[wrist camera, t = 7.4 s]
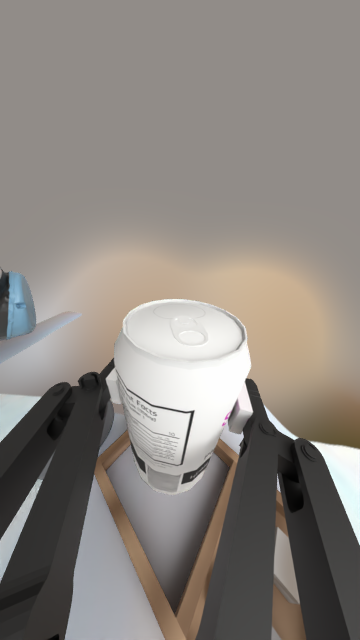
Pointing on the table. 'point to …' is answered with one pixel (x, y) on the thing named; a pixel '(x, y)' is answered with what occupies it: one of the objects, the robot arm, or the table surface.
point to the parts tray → (205, 559)
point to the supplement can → (178, 386)
